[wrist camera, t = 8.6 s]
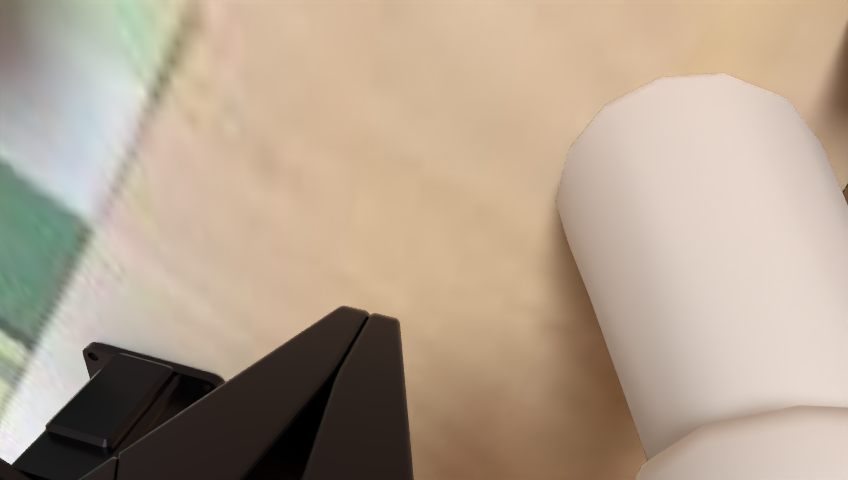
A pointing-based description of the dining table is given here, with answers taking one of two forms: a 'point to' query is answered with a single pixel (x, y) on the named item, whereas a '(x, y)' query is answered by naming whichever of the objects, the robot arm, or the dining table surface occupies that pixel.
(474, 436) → the dining table surface
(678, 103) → the salt shaker
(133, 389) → the robot arm
